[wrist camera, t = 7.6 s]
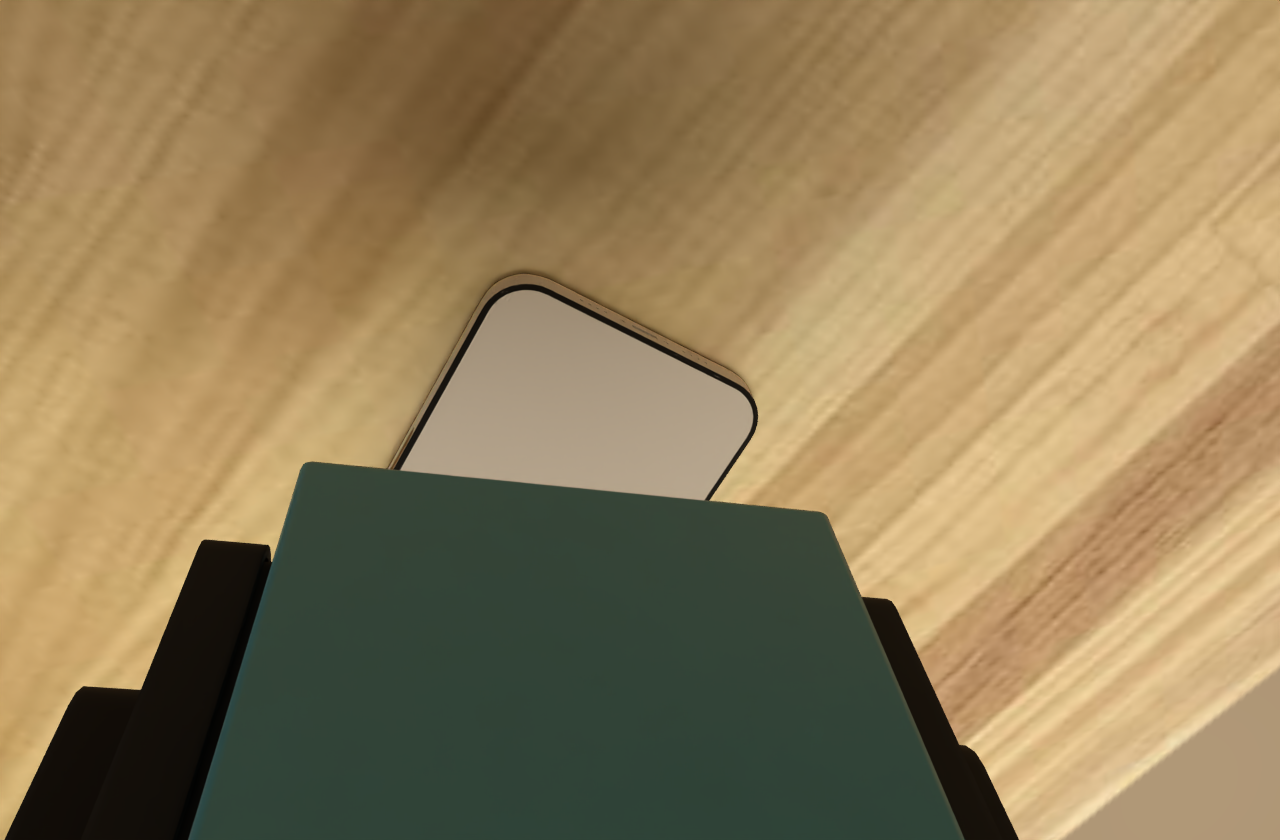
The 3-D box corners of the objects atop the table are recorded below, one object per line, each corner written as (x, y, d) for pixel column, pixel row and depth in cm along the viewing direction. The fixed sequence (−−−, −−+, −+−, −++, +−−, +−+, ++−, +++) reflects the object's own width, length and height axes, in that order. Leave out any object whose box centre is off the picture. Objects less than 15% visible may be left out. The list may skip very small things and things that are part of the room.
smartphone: (777, 404, 29) (488, 830, 34) (767, 383, 30) (488, 801, 35) (503, 267, 26) (237, 746, 31) (503, 250, 27) (245, 717, 32)
